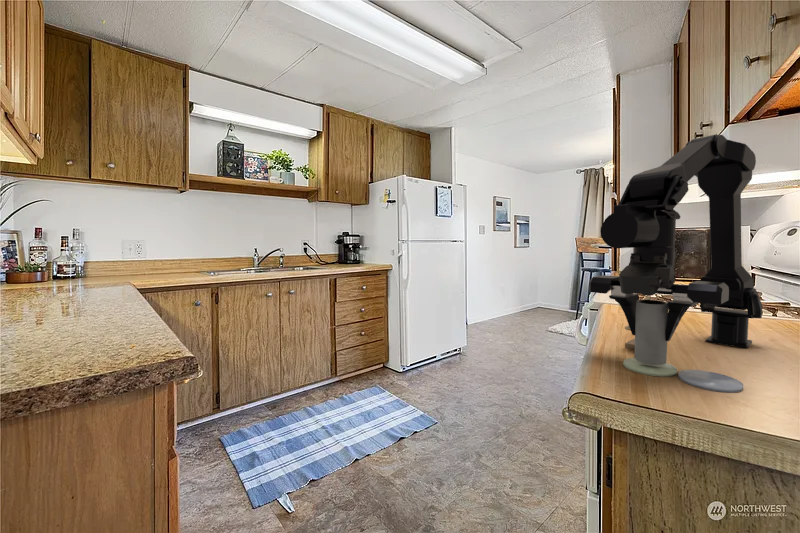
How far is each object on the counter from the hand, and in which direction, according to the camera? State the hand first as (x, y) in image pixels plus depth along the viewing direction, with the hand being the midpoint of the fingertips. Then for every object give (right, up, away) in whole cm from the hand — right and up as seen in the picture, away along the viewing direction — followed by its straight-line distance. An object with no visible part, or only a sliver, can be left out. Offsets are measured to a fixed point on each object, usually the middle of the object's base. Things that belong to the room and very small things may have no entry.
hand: (650, 337), depth 62 cm
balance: (+7, -4, +13) cm, 15 cm away
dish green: (0, -5, 0) cm, 5 cm away
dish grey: (+5, -6, -6) cm, 10 cm away
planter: (0, -4, 0) cm, 4 cm away
